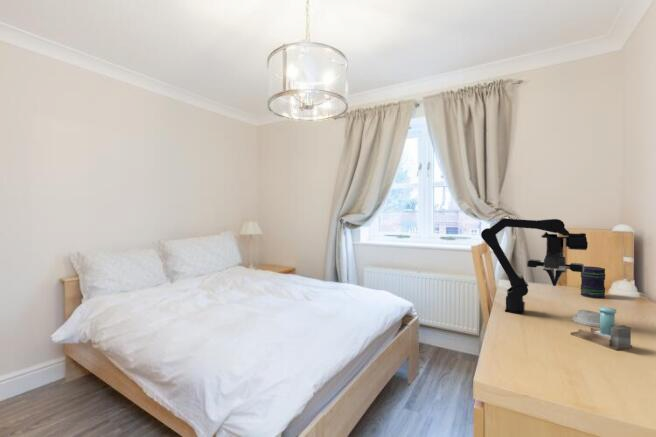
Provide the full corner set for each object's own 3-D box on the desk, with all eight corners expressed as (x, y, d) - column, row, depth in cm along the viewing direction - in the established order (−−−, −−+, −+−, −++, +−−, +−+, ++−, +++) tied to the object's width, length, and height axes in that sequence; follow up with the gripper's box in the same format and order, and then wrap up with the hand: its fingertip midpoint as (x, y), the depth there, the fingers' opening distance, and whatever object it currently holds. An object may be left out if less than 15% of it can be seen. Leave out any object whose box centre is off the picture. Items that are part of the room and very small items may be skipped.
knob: (594, 338, 105) (594, 307, 105) (603, 337, 106) (603, 306, 106) (611, 344, 100) (611, 311, 100) (620, 343, 101) (620, 310, 101)
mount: (570, 334, 111) (570, 315, 110) (585, 331, 113) (585, 313, 113) (616, 350, 97) (616, 329, 97) (632, 347, 100) (632, 327, 99)
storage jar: (600, 295, 164) (601, 267, 164) (608, 299, 155) (609, 270, 155) (577, 293, 168) (577, 265, 168) (583, 297, 159) (584, 268, 159)
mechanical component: (581, 326, 119) (612, 328, 116) (581, 315, 119) (612, 317, 116) (568, 318, 129) (596, 320, 126) (568, 307, 128) (596, 309, 126)
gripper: (524, 248, 130) (523, 285, 130) (581, 252, 117) (580, 293, 117) (530, 246, 138) (530, 281, 138) (584, 250, 125) (584, 288, 125)
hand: (554, 285), depth 129 cm, fingers closed
